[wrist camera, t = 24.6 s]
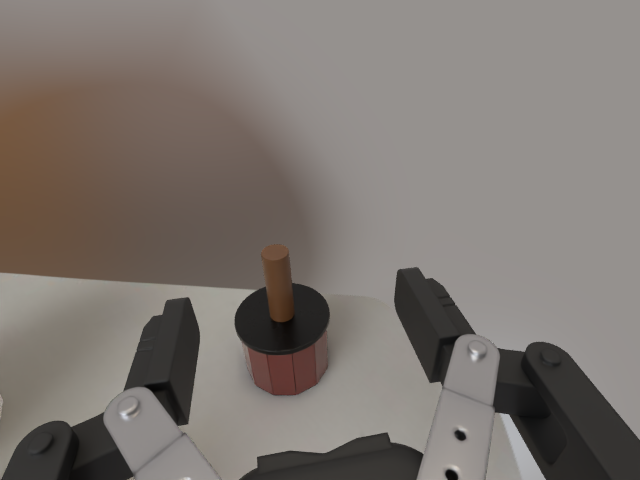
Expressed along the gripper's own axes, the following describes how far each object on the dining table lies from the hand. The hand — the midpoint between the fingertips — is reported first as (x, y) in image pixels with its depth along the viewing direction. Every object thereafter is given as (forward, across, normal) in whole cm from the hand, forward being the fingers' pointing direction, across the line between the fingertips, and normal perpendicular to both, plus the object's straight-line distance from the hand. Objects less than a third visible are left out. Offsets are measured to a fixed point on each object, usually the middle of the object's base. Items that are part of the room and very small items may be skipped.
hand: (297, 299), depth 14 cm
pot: (+18, +1, +26) cm, 31 cm away
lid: (+18, +1, +19) cm, 26 cm away
